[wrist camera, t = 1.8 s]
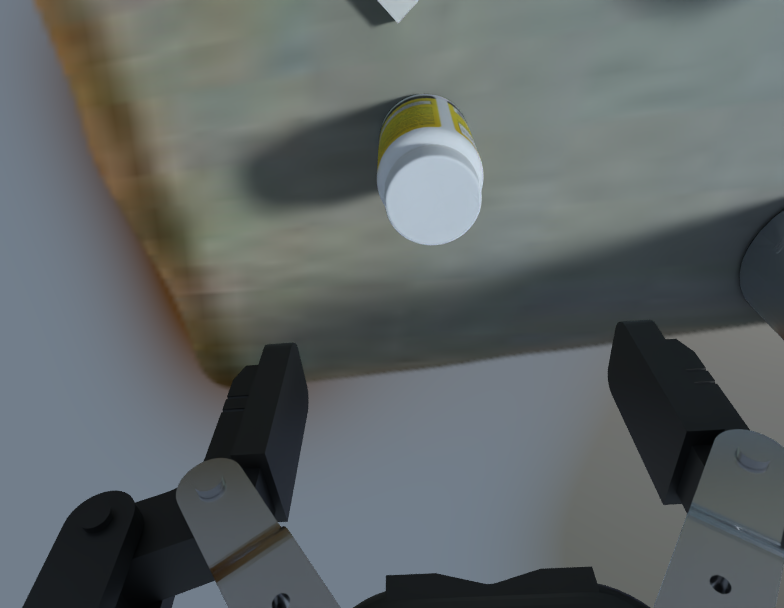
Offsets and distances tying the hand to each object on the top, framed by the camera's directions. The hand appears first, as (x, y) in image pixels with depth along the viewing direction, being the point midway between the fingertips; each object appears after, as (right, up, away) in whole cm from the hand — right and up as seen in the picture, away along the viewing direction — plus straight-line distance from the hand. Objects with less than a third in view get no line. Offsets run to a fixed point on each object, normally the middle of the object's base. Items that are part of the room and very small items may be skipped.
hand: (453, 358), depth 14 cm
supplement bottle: (0, +10, +15) cm, 19 cm away
